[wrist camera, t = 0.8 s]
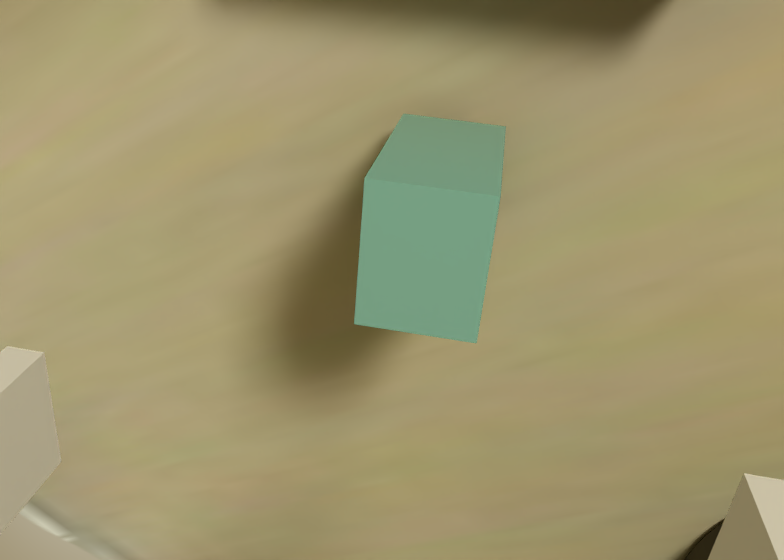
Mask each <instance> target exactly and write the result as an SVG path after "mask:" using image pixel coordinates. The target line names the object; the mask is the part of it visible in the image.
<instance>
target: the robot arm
mask: <svg viewBox="0 0 784 560" xmlns="http://www.w3.org/2000/svg"><path fill="white" fill-rule="evenodd" d="M60 463H61V456H60V449H59V443H58V437H57V430H56V424H55V417H54V411H53V405H52V398H51V392H50V386H49V379H48V373H47V367H46V360H45V354H44V352H39V351H33V350H27V349H21V348H16V347H10V346H7V347H6V348H4V349H3V350H2V351H1V352H0V535H1V534H2V532H3V531H4V530H5V529H6V528H7V526H8V525H9V524H10V523H11V521H12V520H13V519H14V518H15V517H16V515H17V514H18V513H19V512H20V511H21V510H22V508H23V507H24V506H25V505H26V504H27V502H28V501H29V500H30V499H31V498H32V496H33V495H34V494H35V493H36V492H37V490H38V489H39V488H40V487H41V486H42V484H43V483H44V482H45V481H46V479H47V478H48V477H49V476H50V475H51V473H52V472H53V471H54V470H55V469H56V467H57V466H58V465H59V464H60ZM685 560H784V480H780V479H774V478H768V477H763V476H757V475H751V474H745V473H744V474H743V477H742V479H741V481H740V484H739V486H738V489H737V491H736V493H735V496H734V498H733V501H732V503H731V505H730V508H729V510H728V512H727V515H726V517H725V520H724V522H723V523H722V524H720V525H719V526H718V527H716V528H715V529H714V530H712V531H711V532H710V533H709V534H707V535H706V536H705V537H704V538H703V539H702V540H701V541H700V542H699V543H698V544H697V545H696V546H695V547H694V548H693V550H692V551H691V552H690V553H689V555H688V556H687V558H686V559H685Z"/></svg>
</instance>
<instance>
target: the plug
mask: <svg viewBox="0 0 784 560" xmlns="http://www.w3.org/2000/svg"><path fill="white" fill-rule="evenodd" d="M505 130H506V126H498V125H490V124H482V123H474V122H466V121H458V120H450V119H442V118H434V117H426V116H418V115H410V114H403V115H402V117H401V119H400V120H399V122H398V124H397V125H396V127H395V129H394V130H393V132H392V134H391V135H390V137H389V139H388V140H387V142H386V144H385V145H384V147H383V148H382V150H381V152H380V153H379V155H378V157H377V158H376V160H375V162H374V163H373V165H372V167H371V168H370V170H369V172H368V173H367V175H366V176H365V179H364V193H363V207H362V221H361V235H360V249H359V263H358V277H357V291H356V304H355V318H354V324H356V325H363V326H369V327H376V328H382V329H388V330H395V331H401V332H407V333H414V334H420V335H427V336H433V337H439V338H446V339H452V340H459V341H465V342H471V343H477V337H478V331H479V325H480V319H481V313H482V307H483V301H484V295H485V289H486V282H487V276H488V270H489V264H490V258H491V252H492V246H493V240H494V233H495V227H496V221H497V215H498V209H499V203H500V197H501V184H502V170H503V157H504V143H505Z"/></svg>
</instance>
